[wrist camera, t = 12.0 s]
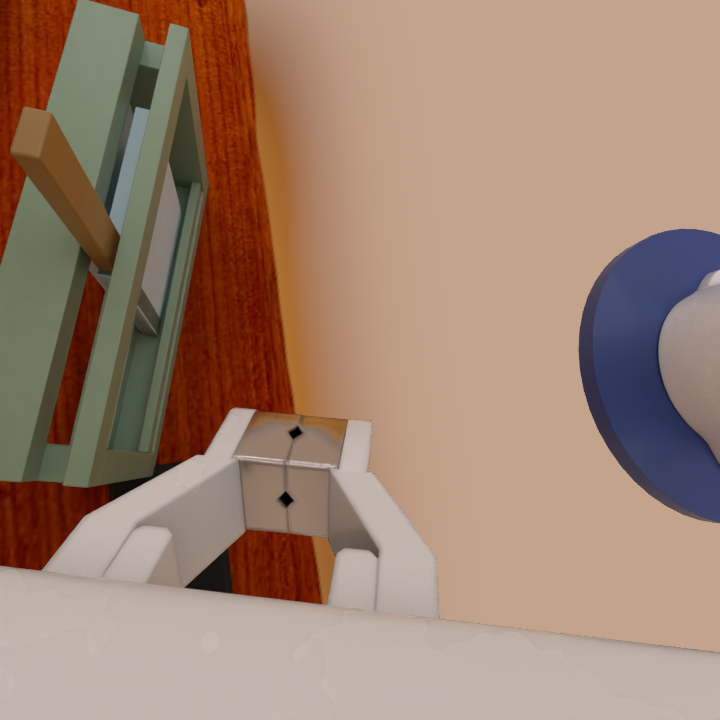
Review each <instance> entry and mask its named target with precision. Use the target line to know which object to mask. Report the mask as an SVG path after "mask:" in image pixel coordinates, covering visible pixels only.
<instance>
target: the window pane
mask: <svg viewBox="0 0 720 720" xmlns="http://www.w3.org/2000/svg"><path fill="white" fill-rule="evenodd" d="M149 111H150V110H147V109H143V108H139V107H136V108H135V112H134V116H133V120H132V125H131V129H130V133H129V137H128V141H127V145H126V149H125V154H124V158H123V162H122V166H121V170H120V174H119V178H118V183H117V187H116V191H115V195H114V199H113V203H112V208H111V212H110V216H109V215H108V213H107V211H106V210H105V208H104V206H103V204H102V202H101V201H100V199H99V197H98V195H97V193H96V192H95V190H94V188H93V186H92V184H91V182H90V181H89V179H88V177H87V175H86V173H85V172H84V170H83V168H82V166H81V164H80V163H79V161H78V159H77V157H76V155H75V153H74V152H73V150H72V148H71V146H70V144H69V143H68V141H67V139H66V137H65V135H64V134H63V132H62V130H61V128H60V126H59V125H58V123H57V121H56V119H55V117H54V115H53V114H52V113H50V112H47V111H43V110H39V109H34V108H30V107H24V108H23V110H22V113H21V116H20V120H19V123H18V126H17V129H16V133H15V136H14V139H13V142H12V146H11V149H10V153H11V155H12V156H13V157H14V159H15V160H16V161H17V163H18V164H19V165H20V167H21V168H22V169H23V171H24V172H25V173H26V175H27V176H28V177H29V178H30V180H31V181H32V182H33V184H34V185H35V186H36V188H37V189H38V190H39V192H40V193H41V194H42V196H43V197H44V198H45V199H46V201H47V202H48V203H49V205H50V206H51V207H52V209H53V210H54V211H55V213H56V214H57V215H58V217H59V218H60V219H61V220H62V222H63V223H64V224H65V226H66V227H67V228H68V230H69V231H70V232H71V234H72V235H73V236H74V238H75V239H76V240H77V242H78V243H79V244H80V245H81V247H82V248H83V249H84V251H85V252H86V253H87V255H88V256H89V257H90V259H91V260H92V261H93V263H94V264H95V265H96V266H97V270H96V274H95V275H96V276H97V278H98V279H99V280H100V281H101V283H102V284H103V285H104V286H105V288H106V289H107V290H108V288H109V283H110V279H111V275H112V270H113V266H114V262H115V257H116V253H117V249H118V245H119V240H120V236H121V232H122V227H123V223H124V219H125V214H126V210H127V206H128V202H129V197H130V193H131V189H132V184H133V180H134V176H135V171H136V167H137V163H138V159H139V154H140V150H141V146H142V141H143V137H144V133H145V128H146V124H147V120H148V116H149ZM181 220H182V212H181V208H180V204H179V200H178V196H177V192H176V188H175V184H174V180H173V176H172V172H171V168H170V164H169V161H168V166H167V170H166V175H165V180H164V184H163V189H162V194H161V198H160V203H159V207H158V212H157V217H156V221H155V226H154V231H153V235H152V240H151V245H150V249H149V254H148V259H147V263H146V268H145V272H144V277H143V282H142V286H141V291H140V296H139V300H138V305H137V310H136V314H135V319H134V324H135V325H136V326H137V328H138V329H139V330H140V331H141V333H142V334H146V335H153V336H158V334H159V329H160V324H161V319H162V314H163V309H164V304H165V299H166V294H167V289H168V284H169V279H170V274H171V269H172V264H173V259H174V254H175V249H176V244H177V239H178V235H179V230H180V225H181Z"/></svg>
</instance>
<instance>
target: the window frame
mask: <svg viewBox="0 0 720 720" xmlns="http://www.w3.org/2000/svg"><path fill="white" fill-rule="evenodd" d="M136 107H139V108H143V109H147V110H150V111H149V116H148V120H147V124H146V128H145V133H144V137H143V141H142V146H141V150H140V154H139V159H138V163H137V167H136V171H135V176H134V180H133V184H132V189H131V193H130V197H129V202H128V206H127V210H126V214H125V219H124V223H123V227H122V232H121V236H120V240H119V245H118V249H117V253H116V257H115V262H114V266H113V270H112V275H111V279H110V283H109V288H108V290H107V289H106V288H105V286H104V285H103V284H102V283H101V281H100V280H99V279H98V278H97V276H96V275H95V274H96V270H97V266H96V265H95V264H94V263H93V261H92V260H91V259H90V257H89V256H88V255H87V253H86V252H85V251H84V249H83V248H82V247H81V245H80V244H79V243H78V242H77V240H76V239H75V238H74V236H73V235H72V234H71V232H70V231H69V230H68V228H67V227H66V226H65V224H64V223H63V222H62V220H61V219H60V218H59V217H58V215H57V214H56V213H55V211H54V210H53V209H52V207H51V206H50V205H49V203H48V202H47V201H46V199H45V198H44V197H43V196H42V194H41V193H40V192H39V190H38V189H37V188H36V186H35V185H34V184H33V182H32V181H31V180H30V178H29V177H28V176H26V180H25V183H24V186H23V190H22V193H21V197H20V200H19V203H18V207H17V210H16V214H15V217H14V221H13V224H12V227H11V231H10V234H9V238H8V241H7V245H6V248H5V251H4V255H3V258H2V262H1V265H0V481H8V482H30V481H45V482H57V483H63V486H70V487H82V488H88V487H94V486H99V485H105V484H110V483H116V482H122V481H128V480H133V479H139V478H145V477H151V476H153V471H154V467H155V465H156V460H157V455H158V449H159V444H160V439H161V434H162V428H163V423H164V418H165V413H166V407H167V402H168V397H169V392H170V386H171V381H172V376H173V371H174V365H175V360H176V355H177V350H178V344H179V339H180V334H181V329H182V323H183V318H184V313H185V308H186V302H187V297H188V292H189V287H190V281H191V276H192V271H193V266H194V260H195V255H196V250H197V245H198V239H199V234H200V229H201V224H202V218H203V213H204V208H205V203H206V197H207V192H208V187H209V184H208V176H207V168H206V160H205V152H204V144H203V136H202V129H201V121H200V113H199V105H198V97H197V89H196V82H195V74H194V66H193V58H192V50H191V42H190V35H189V29H188V28H186V27H182V26H179V25H175V24H171V23H170V25H169V29H168V34H167V38H166V42H165V46H163V45H159V44H155V43H152V42H148V41H145V38H144V34H143V30H142V25H141V21H140V17H139V15H138V14H135V13H132V12H128V11H125V10H121V9H117V8H114V7H110V6H107V5H103V4H99V3H96V2H92V1H89V0H78V2H77V5H76V8H75V12H74V15H73V19H72V22H71V25H70V29H69V32H68V36H67V39H66V43H65V46H64V49H63V53H62V56H61V60H60V63H59V67H58V70H57V73H56V77H55V80H54V84H53V87H52V91H51V94H50V97H49V101H48V104H47V108H46V111H47V112H50V113H52V114H53V115H54V117H55V119H56V121H57V123H58V125H59V126H60V128H61V130H62V132H63V134H64V135H65V137H66V139H67V141H68V143H69V144H70V146H71V148H72V150H73V152H74V153H75V155H76V157H77V159H78V161H79V163H80V164H81V166H82V168H83V170H84V172H85V173H86V175H87V177H88V179H89V181H90V182H91V184H92V186H93V188H94V190H95V192H96V193H97V195H98V197H99V199H100V201H101V202H102V204H103V206H104V208H105V210H106V211H107V213H108V215H109V216H110V212H111V208H112V203H113V199H114V195H115V191H116V187H117V183H118V178H119V174H120V170H121V166H122V162H123V158H124V154H125V149H126V145H127V141H128V137H129V133H130V129H131V125H132V120H133V116H134V112H135V108H136ZM168 161H169V164H170V168H171V172H172V176H173V180H174V184H175V188H176V192H177V196H178V200H179V204H180V208H181V212H182V220H181V225H180V230H179V235H178V239H177V244H176V249H175V254H174V259H173V264H172V269H171V274H170V279H169V284H168V289H167V294H166V299H165V304H164V309H163V314H162V319H161V324H160V329H159V334H158V336H153V335H146V334H142V333H141V331H140V330H139V329H138V328H137V326H136V325H135V324H134V319H135V314H136V310H137V305H138V300H139V296H140V291H141V286H142V282H143V277H144V272H145V268H146V263H147V259H148V254H149V249H150V245H151V240H152V235H153V231H154V226H155V221H156V217H157V212H158V207H159V203H160V198H161V194H162V189H163V184H164V180H165V175H166V170H167V166H168ZM88 271H90V273H91V274H92V275H93V276H94V277H95V279H96V280H97V281H98V282H99V284H100V285H101V286H102V287H103V288H104V290H105V294H104V299H103V303H102V307H101V312H100V316H99V320H98V324H97V329H96V333H95V337H94V341H93V346H92V350H91V354H90V359H89V363H88V367H87V371H86V376H85V380H84V384H83V389H82V393H81V397H80V401H79V406H78V410H77V414H76V418H75V423H74V427H73V431H72V436H71V440H70V444H69V445H64V444H52V443H46V442H47V438H48V434H49V430H50V426H51V422H52V418H53V414H54V410H55V405H56V401H57V397H58V393H59V389H60V385H61V381H62V377H63V373H64V369H65V365H66V361H67V356H68V352H69V348H70V344H71V340H72V336H73V332H74V328H75V324H76V320H77V316H78V312H79V307H80V303H81V299H82V295H83V291H84V287H85V283H86V279H87V275H88Z"/></svg>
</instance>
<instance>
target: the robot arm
mask: <svg viewBox="0 0 720 720" xmlns="http://www.w3.org/2000/svg"><path fill="white" fill-rule="evenodd" d="M658 357H659V366H660V372H661V376H662V380H663V383H664V386H665V388H666V391H667V393H668V396H669V398H670V400H671V401H672V403H673V405H674V407H675V408H676V410H677V411H678V413H679V414H680V415H681V417H682V418H683V419H684V420H685V422H686V423H687V424H688V425H689V426H690V427H691V428H692V429H693V430H694V431H696V432H697V433H698V434H699V435H700V436H701V437H702V438H703V439H704V440H705V441H706V442H707V443H708V445H709V447H710V449H711V451H712V452H713V454H714V456H715V458H716V459H717V461H718V463H719V464H720V270H717V271H714V272H710V273H708V274H707V275H706V276H705V277H704V278H703V280H702V282H701V283H700V285H699V287H698V289H697V290H696V291H695V292H694V293H693V294H691V295H690V296H688V297H686V298H684V299H683V300H681V301H680V302H679V303H677V304H676V305H675V306H674V307H673V308H672V310H671V311H670V312H669V314H668V315H667V317H666V319H665V321H664V323H663V326H662V329H661V333H660V338H659V346H658ZM372 427H373V423H372V420H358V419H349V420H347V419H336V418H325V417H314V416H303V415H298V414H290V413H281V412H273V411H264V410H255V409H246V408H236V407H235V408H233V409H231V410H230V411H229V413H228V415H227V417H226V418H225V420H224V422H223V423H222V425H221V427H220V428H219V430H218V432H217V434H216V435H215V437H214V439H213V440H212V442H211V444H210V446H209V447H208V449H207V451H206V452H205V454H204V455H196V456H194V457H192V458H190V459H188V460H186V461H185V462H183V463H181V464H179V465H177V466H175V467H174V468H172V469H170V470H168V471H166V472H164V473H163V474H161V475H159V476H157V477H155V478H153V479H152V480H150V481H148V482H146V483H144V484H142V485H141V486H139V487H137V488H135V489H133V490H131V491H130V492H128V493H126V494H124V495H122V496H120V497H119V498H117V499H115V500H113V501H111V502H109V503H108V504H106V505H104V506H102V507H100V508H99V509H97V510H95V511H93V512H91V513H89V514H88V515H86V516H84V517H83V519H82V520H81V521H80V522H79V524H78V525H77V526H76V527H75V529H74V530H73V531H72V533H71V534H70V535H69V536H68V538H67V539H66V540H65V541H64V543H63V544H62V545H61V547H60V548H59V549H58V550H57V552H56V553H55V554H54V555H53V557H52V558H51V559H50V560H49V562H48V563H47V564H46V566H45V567H44V568H43V569H42V571H39V570H31V569H22V568H14V567H6V566H0V720H720V652H713V651H705V650H697V649H687V648H680V647H671V646H663V645H655V644H647V643H638V642H630V641H622V640H613V639H605V638H597V637H588V636H580V635H572V634H563V633H555V632H547V631H538V630H529V629H522V628H513V627H504V626H496V625H488V624H480V623H471V622H463V621H454V620H446V619H440V616H439V598H438V580H437V562H436V556H435V554H434V553H433V552H432V550H431V549H430V548H429V546H428V545H427V544H426V542H425V541H424V540H423V538H422V537H421V536H420V535H419V533H418V532H417V530H416V529H415V528H414V526H413V525H412V524H411V522H410V521H409V520H408V518H407V517H406V516H405V514H404V513H403V511H402V510H401V509H400V507H399V506H398V505H397V503H396V502H395V501H394V499H393V498H392V497H391V495H390V494H389V493H388V491H387V490H386V489H385V487H384V486H383V485H382V483H381V482H380V481H379V479H378V478H377V477H376V475H375V474H374V473H369V464H370V452H371V438H372ZM245 529H248V530H260V531H272V532H284V533H292V534H299V535H306V536H314V537H321V538H328V541H329V543H330V546H331V548H332V550H333V552H334V555H335V557H336V560H335V565H334V571H333V577H332V582H331V587H330V593H329V598H328V605H322V604H314V603H306V602H298V601H289V600H281V599H273V598H264V597H256V596H248V595H239V594H231V593H223V592H214V591H206V590H198V589H189V588H184V587H185V586H186V585H188V584H189V583H190V582H191V581H192V580H193V579H194V578H195V577H196V576H197V575H199V574H200V573H201V572H202V571H203V570H204V569H205V568H206V567H207V566H208V565H209V564H211V563H212V562H213V561H214V560H215V559H216V558H217V557H218V556H219V555H220V554H222V553H223V552H224V551H225V550H226V549H227V548H228V547H229V546H230V545H231V544H232V543H234V542H235V541H236V540H237V539H238V538H239V537H240V536H241V535H242V534H243V533H245Z"/></svg>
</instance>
